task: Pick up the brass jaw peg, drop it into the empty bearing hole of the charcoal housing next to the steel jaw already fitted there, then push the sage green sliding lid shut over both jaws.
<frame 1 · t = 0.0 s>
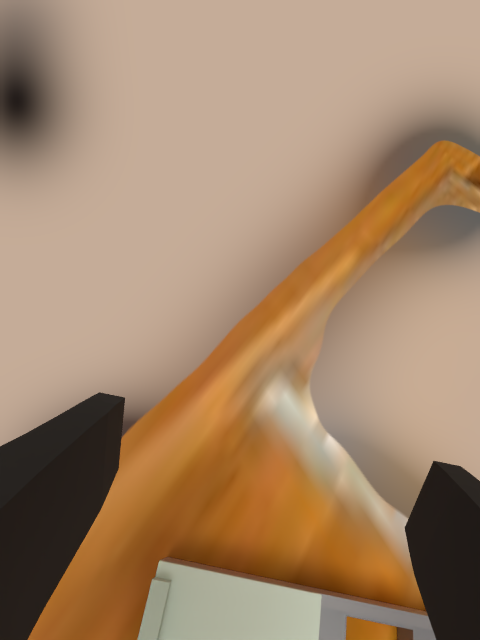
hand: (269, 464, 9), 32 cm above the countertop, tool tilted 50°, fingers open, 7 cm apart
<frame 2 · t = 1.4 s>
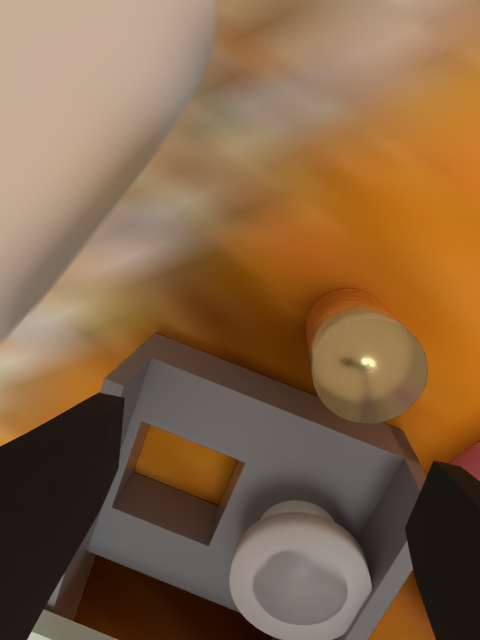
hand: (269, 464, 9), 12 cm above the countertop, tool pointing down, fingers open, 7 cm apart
jaw peg: (345, 327, 20), on the countertop
housing: (239, 471, 23), on the countertop
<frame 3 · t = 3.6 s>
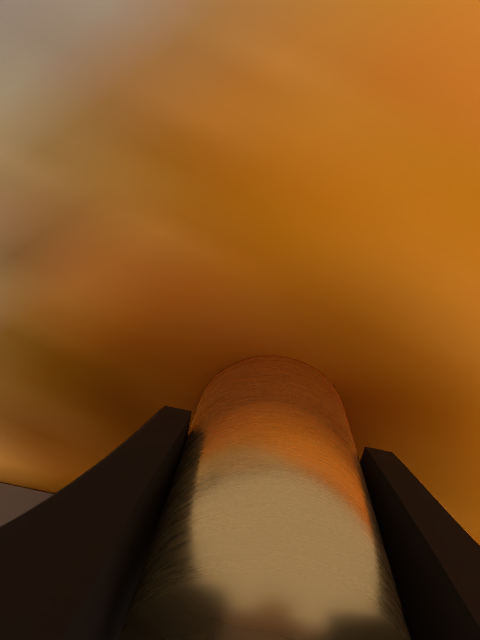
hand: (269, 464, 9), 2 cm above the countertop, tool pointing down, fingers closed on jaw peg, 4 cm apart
jaw peg: (270, 423, 11), on the countertop, touching gripper
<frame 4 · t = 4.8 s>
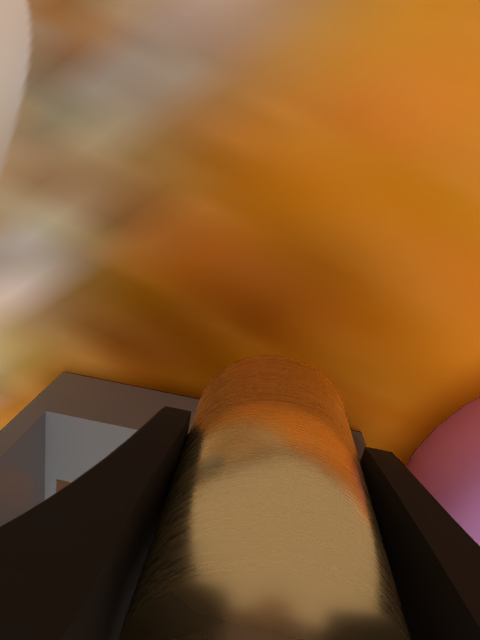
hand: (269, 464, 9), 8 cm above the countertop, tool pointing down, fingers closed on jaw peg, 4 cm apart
jaw peg: (270, 422, 11), point 7 cm above the countertop, touching gripper
housing: (193, 501, 21), on the countertop
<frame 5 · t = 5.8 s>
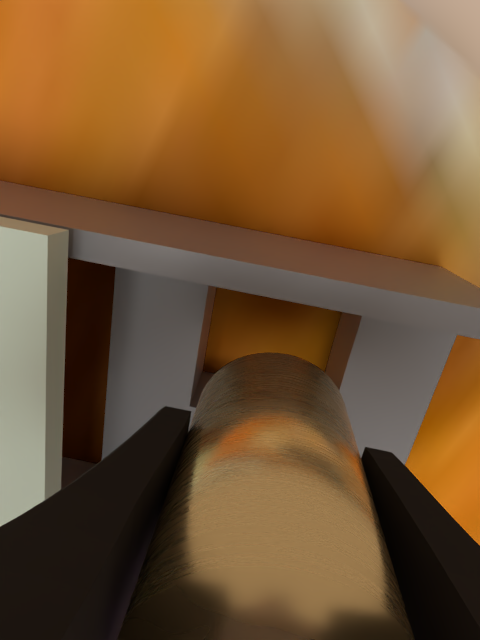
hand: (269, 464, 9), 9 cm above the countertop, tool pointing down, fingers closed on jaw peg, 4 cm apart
jaw peg: (270, 420, 11), point 7 cm above the countertop, touching gripper
housing: (259, 388, 19), on the countertop
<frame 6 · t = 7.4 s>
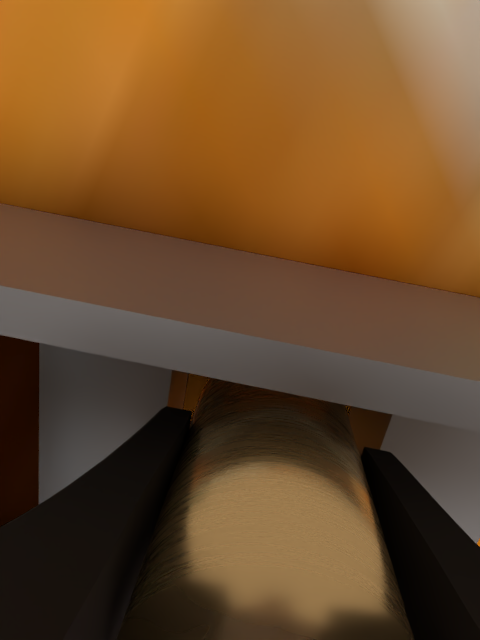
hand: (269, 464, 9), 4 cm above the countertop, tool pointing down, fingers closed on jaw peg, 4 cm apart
jaw peg: (270, 420, 11), point 2 cm above the countertop, touching gripper
housing: (253, 457, 14), on the countertop
when the fingers open (4 cm above the countertop, at t = 7.4 s): jaw peg drops 2 cm, resting in housing.
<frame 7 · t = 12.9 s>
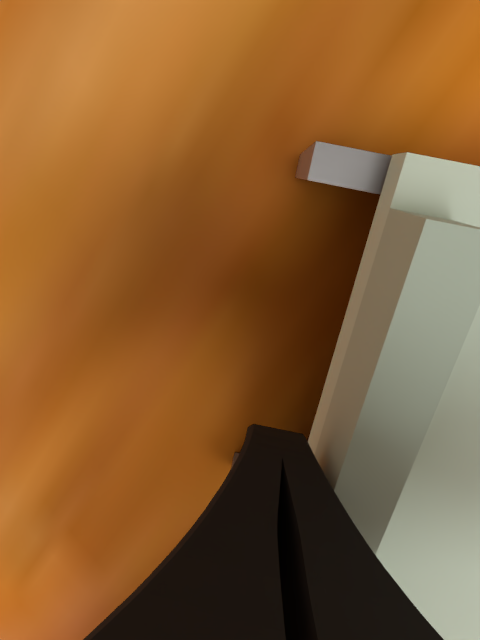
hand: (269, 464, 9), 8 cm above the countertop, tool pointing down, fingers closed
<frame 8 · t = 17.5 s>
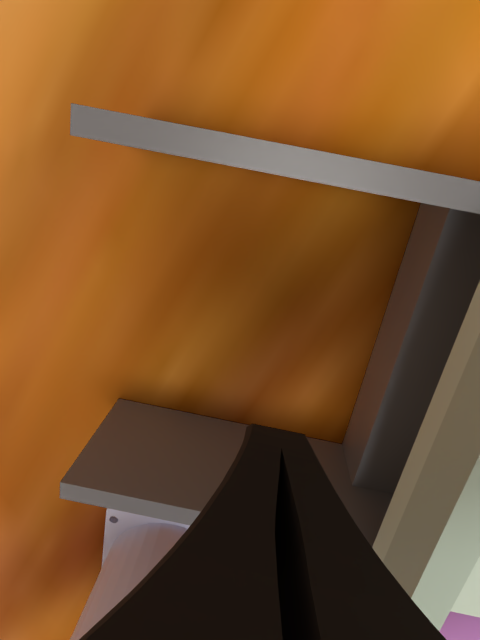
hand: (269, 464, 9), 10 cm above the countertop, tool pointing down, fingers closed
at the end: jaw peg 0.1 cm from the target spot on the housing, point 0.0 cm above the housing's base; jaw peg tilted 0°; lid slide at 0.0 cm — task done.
